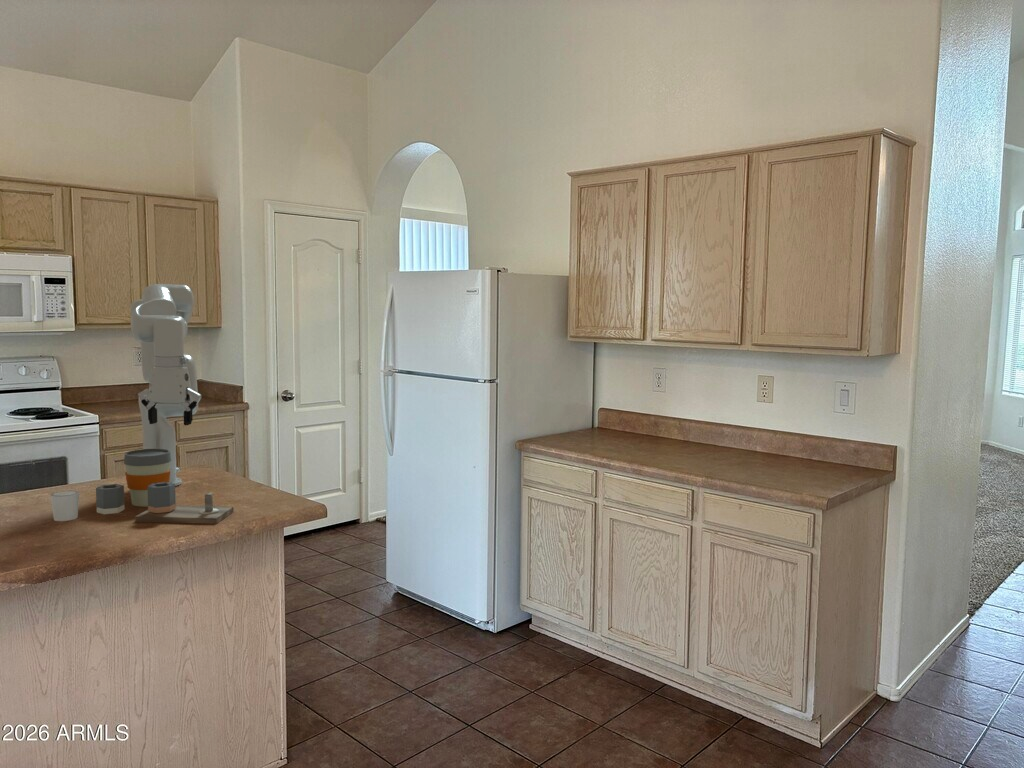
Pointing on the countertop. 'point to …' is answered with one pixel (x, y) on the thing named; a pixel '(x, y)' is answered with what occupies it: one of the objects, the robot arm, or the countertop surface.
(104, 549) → the countertop surface
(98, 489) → the cream-banded sleeve
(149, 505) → the terracotta-banded sleeve
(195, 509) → the pin board
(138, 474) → the reusable coffee cup
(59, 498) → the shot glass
